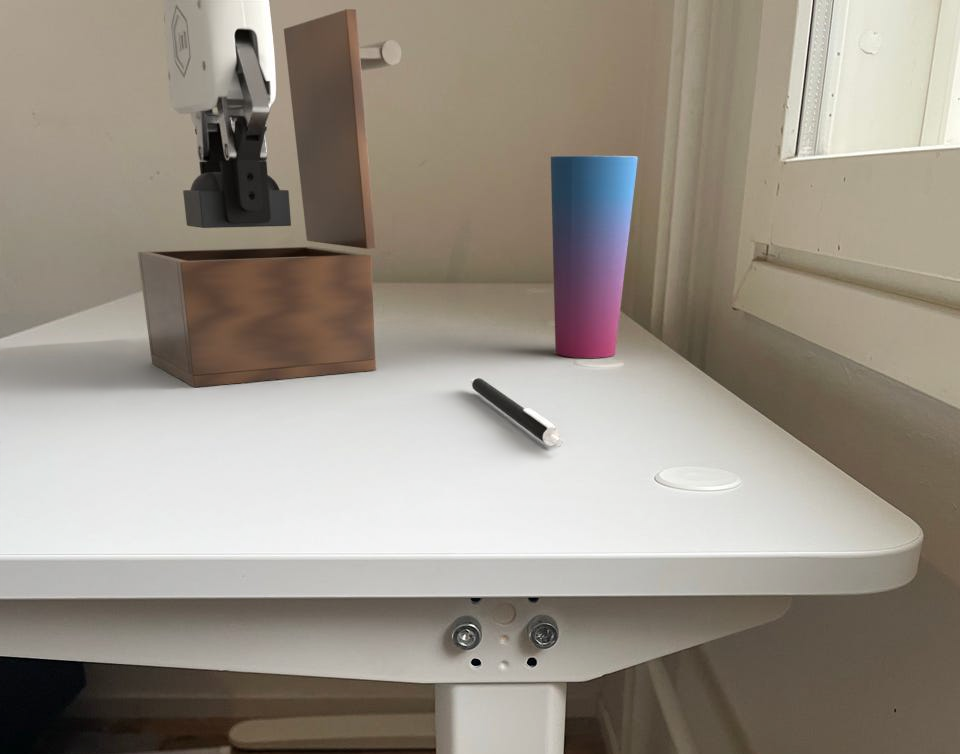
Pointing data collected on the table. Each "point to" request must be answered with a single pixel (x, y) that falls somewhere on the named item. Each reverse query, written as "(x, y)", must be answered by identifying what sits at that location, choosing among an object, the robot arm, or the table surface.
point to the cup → (590, 250)
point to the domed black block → (209, 204)
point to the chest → (258, 313)
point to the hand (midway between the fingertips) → (237, 218)
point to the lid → (334, 125)
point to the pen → (519, 413)
